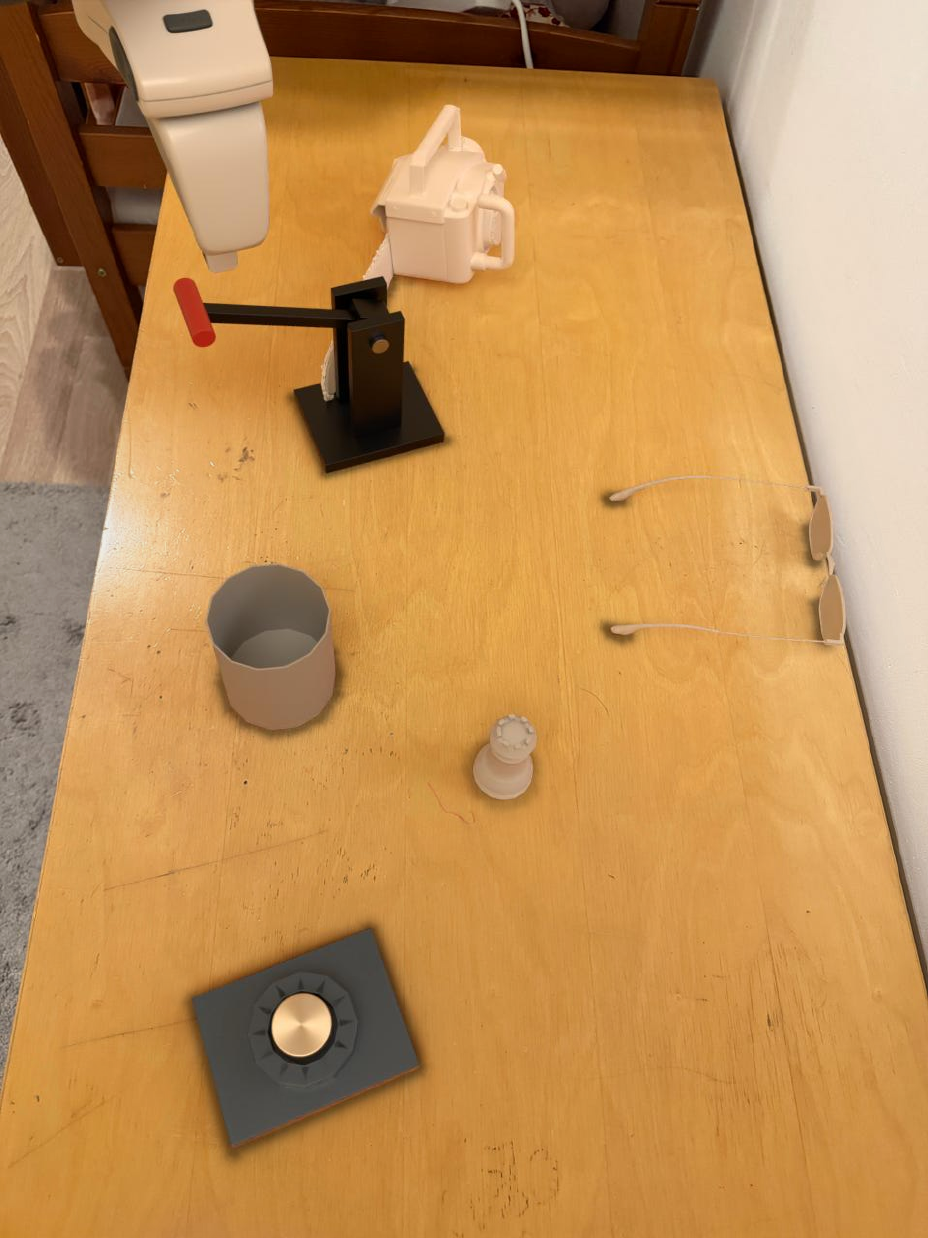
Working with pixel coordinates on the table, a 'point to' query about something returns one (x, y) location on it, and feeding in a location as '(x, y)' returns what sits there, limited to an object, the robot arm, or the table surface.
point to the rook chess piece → (506, 758)
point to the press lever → (262, 314)
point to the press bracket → (368, 390)
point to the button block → (294, 1089)
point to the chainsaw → (439, 215)
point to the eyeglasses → (820, 547)
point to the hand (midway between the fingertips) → (199, 212)
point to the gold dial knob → (302, 1026)
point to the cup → (273, 645)
